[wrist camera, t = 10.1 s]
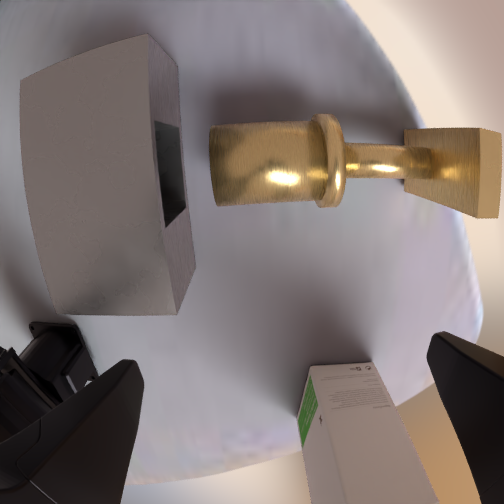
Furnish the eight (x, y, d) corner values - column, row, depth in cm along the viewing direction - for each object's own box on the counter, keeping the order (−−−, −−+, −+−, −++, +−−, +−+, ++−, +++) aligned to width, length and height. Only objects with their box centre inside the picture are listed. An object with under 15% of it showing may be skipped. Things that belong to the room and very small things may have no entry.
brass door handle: (223, 203, 19) (207, 241, 11) (217, 123, 17) (194, 104, 10) (423, 197, 19) (497, 225, 11) (423, 126, 17) (500, 125, 9)
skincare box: (309, 362, 24) (350, 532, 9) (378, 359, 24) (447, 500, 9) (294, 421, 27) (314, 556, 12) (354, 416, 27) (392, 538, 12)
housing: (98, 272, 21) (56, 313, 15) (74, 92, 16) (20, 80, 10) (196, 267, 21) (177, 315, 15) (177, 66, 16) (147, 33, 10)
